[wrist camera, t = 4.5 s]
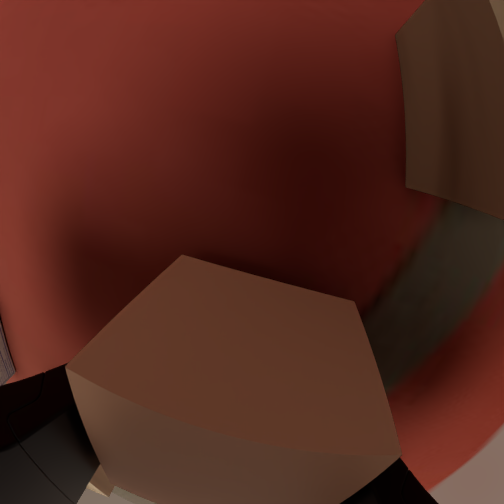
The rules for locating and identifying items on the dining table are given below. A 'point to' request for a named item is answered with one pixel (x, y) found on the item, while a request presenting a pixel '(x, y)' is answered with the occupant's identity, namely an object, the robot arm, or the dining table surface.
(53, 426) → the robot arm
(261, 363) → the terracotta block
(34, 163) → the dining table surface
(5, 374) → the medicine box
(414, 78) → the walnut block
